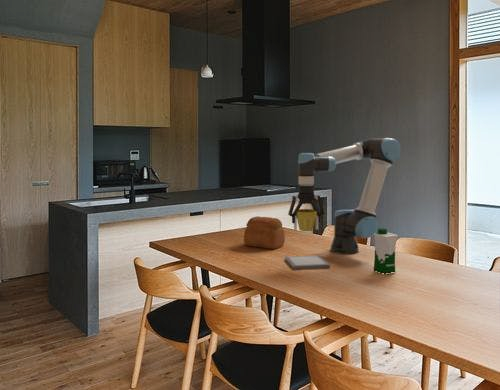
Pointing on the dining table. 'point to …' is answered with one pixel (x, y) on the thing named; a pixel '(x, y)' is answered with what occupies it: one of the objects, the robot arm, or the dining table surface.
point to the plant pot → (306, 219)
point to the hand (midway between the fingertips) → (306, 229)
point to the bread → (264, 233)
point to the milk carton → (384, 251)
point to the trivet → (307, 262)
